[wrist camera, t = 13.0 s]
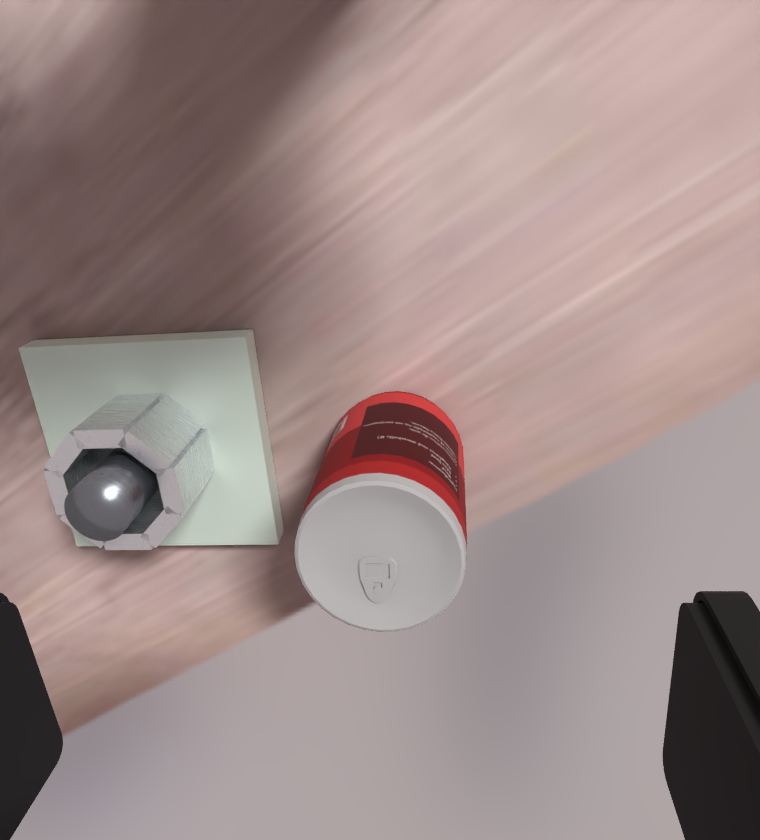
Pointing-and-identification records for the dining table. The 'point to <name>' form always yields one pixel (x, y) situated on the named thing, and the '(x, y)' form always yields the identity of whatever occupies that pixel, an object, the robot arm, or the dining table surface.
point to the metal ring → (150, 444)
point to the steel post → (110, 496)
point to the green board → (194, 390)
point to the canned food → (386, 516)
